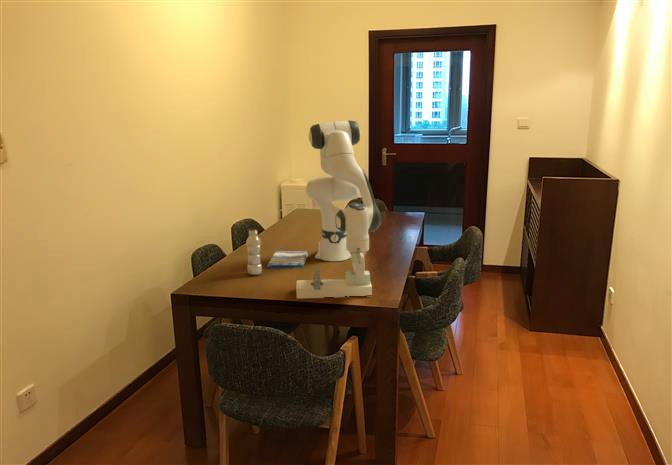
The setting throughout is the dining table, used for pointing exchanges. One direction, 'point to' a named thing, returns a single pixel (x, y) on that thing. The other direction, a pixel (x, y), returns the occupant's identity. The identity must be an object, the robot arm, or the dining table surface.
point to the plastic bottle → (254, 253)
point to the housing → (331, 289)
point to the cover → (352, 278)
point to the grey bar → (316, 278)
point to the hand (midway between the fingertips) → (357, 279)
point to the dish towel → (288, 259)
